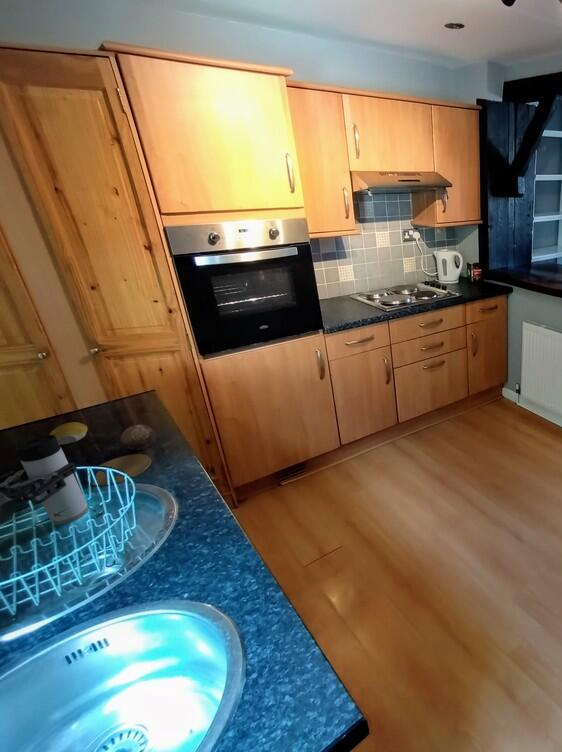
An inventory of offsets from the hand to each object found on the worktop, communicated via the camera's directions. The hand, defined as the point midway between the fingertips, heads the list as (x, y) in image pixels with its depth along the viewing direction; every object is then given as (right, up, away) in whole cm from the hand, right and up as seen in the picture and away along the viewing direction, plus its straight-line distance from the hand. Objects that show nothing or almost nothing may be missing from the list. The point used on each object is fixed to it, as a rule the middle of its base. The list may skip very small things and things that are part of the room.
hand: (60, 465), depth 99 cm
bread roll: (-29, +1, +32) cm, 43 cm away
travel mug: (0, -12, +3) cm, 12 cm away
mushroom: (-5, -1, +28) cm, 29 cm away
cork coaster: (-3, -5, +18) cm, 19 cm away
